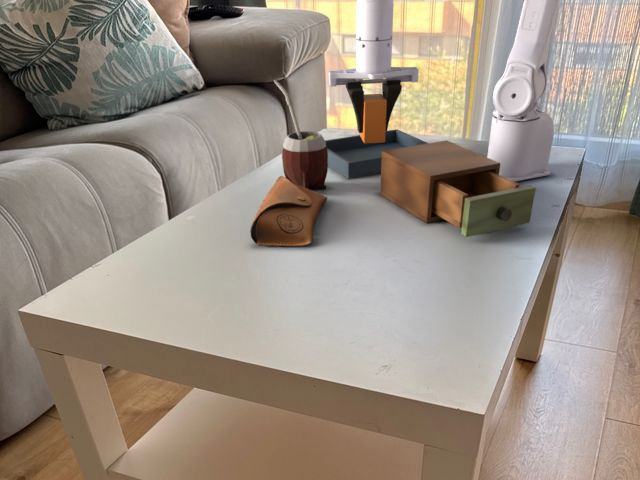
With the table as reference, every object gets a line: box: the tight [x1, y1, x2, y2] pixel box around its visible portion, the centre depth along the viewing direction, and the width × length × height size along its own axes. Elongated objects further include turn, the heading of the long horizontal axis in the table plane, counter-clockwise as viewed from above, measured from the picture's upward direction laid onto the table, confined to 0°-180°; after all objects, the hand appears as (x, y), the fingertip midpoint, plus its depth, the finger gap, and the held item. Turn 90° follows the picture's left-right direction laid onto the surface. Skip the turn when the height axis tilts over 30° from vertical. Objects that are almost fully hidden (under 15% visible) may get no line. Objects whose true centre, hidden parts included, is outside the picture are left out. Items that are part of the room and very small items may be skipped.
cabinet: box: [379, 140, 500, 224], centre depth 93 cm, size 13×11×6 cm
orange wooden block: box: [359, 93, 387, 144], centre depth 107 cm, size 4×5×6 cm
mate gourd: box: [273, 78, 329, 191], centre depth 96 cm, size 8×8×15 cm
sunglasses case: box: [249, 175, 328, 248], centre depth 89 cm, size 18×7×7 cm
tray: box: [324, 128, 429, 180], centre depth 111 cm, size 17×14×2 cm
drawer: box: [432, 170, 537, 238], centre depth 86 cm, size 14×10×5 cm
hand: (372, 130), depth 108 cm, fingers closed on orange wooden block, 3 cm apart
